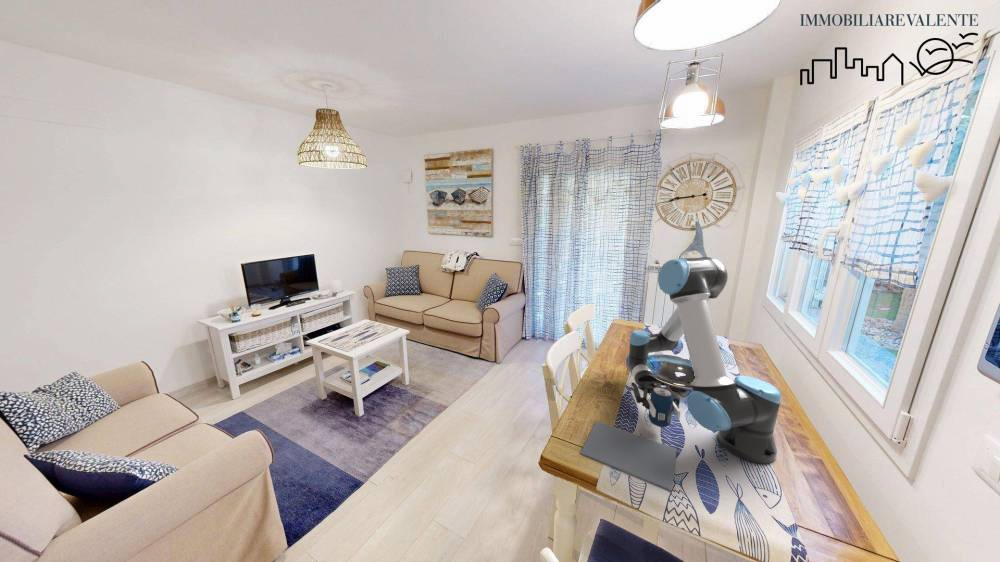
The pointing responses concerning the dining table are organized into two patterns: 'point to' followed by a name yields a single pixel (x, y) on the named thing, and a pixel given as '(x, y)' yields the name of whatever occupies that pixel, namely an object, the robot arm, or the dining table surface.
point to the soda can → (661, 406)
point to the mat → (632, 454)
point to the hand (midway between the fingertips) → (666, 414)
